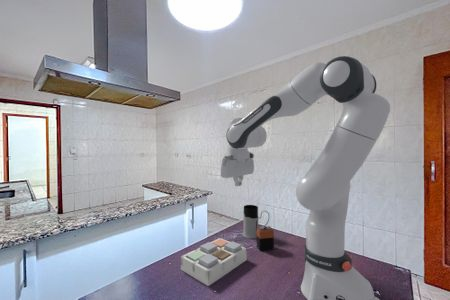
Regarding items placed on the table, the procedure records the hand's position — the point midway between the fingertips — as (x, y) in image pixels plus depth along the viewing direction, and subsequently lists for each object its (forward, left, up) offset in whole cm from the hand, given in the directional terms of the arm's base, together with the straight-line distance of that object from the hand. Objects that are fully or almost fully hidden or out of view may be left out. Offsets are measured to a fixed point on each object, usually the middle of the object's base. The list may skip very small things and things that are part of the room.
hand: (238, 185), depth 97 cm
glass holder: (+3, -18, -29) cm, 35 cm away
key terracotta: (+3, +9, -27) cm, 28 cm away
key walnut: (-4, +16, -27) cm, 31 cm away
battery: (-8, -9, -29) cm, 32 cm away
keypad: (0, +16, -29) cm, 33 cm away
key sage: (+3, +23, -27) cm, 35 cm away
